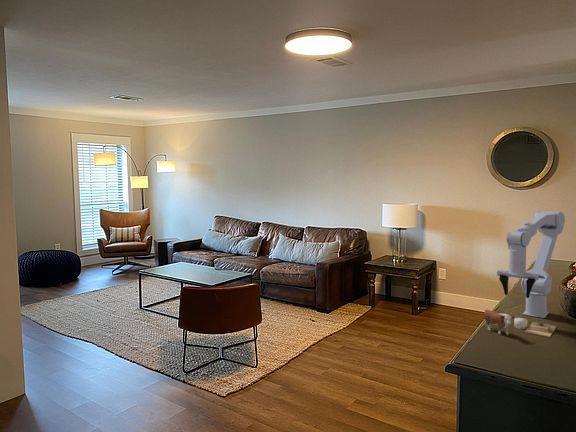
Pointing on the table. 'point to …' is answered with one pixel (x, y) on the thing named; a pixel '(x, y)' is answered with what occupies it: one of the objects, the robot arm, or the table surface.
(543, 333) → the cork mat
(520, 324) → the white round lump
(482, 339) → the table surface
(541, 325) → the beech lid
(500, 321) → the bull figurine
